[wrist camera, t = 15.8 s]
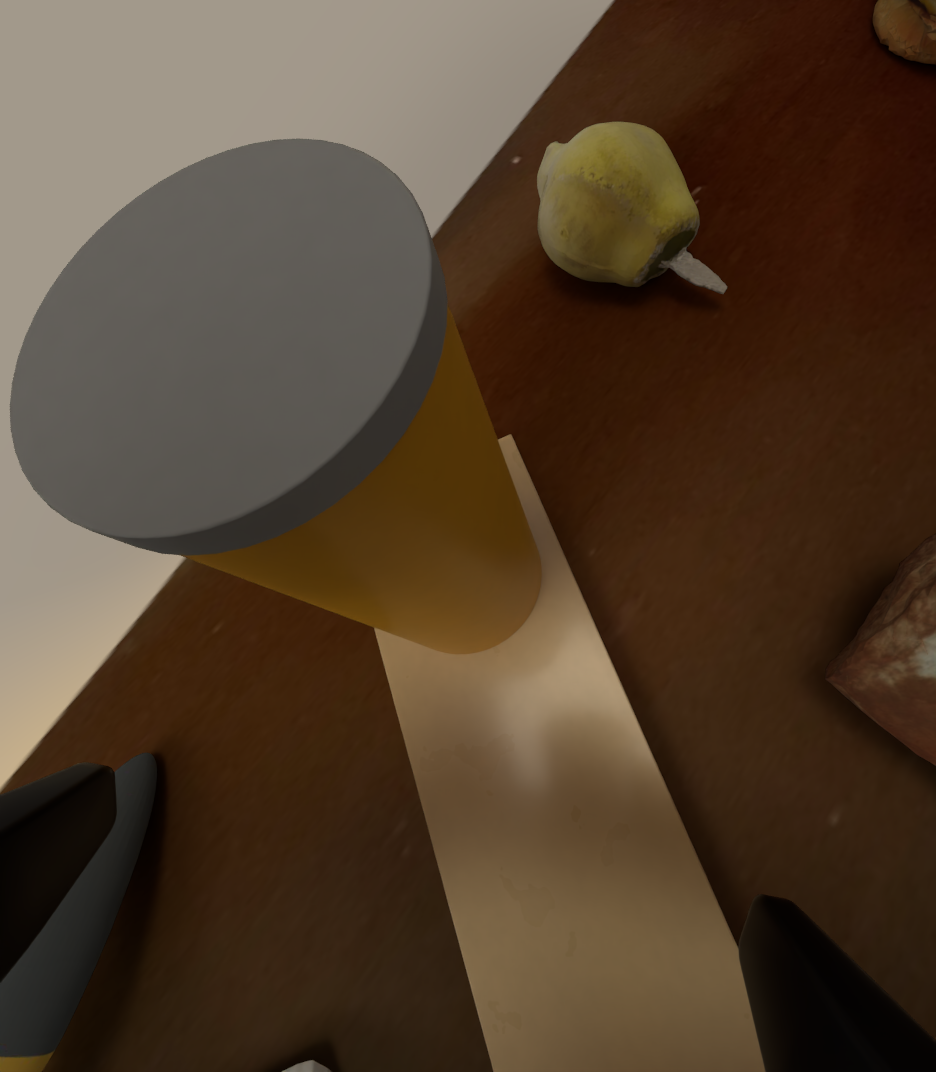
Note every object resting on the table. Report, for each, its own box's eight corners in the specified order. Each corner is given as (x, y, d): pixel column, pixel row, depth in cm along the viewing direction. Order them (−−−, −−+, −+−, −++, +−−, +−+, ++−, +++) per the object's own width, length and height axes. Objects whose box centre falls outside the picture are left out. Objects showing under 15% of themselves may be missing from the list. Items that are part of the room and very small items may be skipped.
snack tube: (576, 546, 20) (531, 194, 6) (485, 692, 19) (204, 644, 6) (443, 474, 23) (204, 104, 9) (356, 600, 22) (-63, 408, 8)
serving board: (953, 1441, 12) (977, 1488, 11) (621, 1508, 13) (622, 1555, 12) (513, 442, 23) (511, 433, 23) (348, 513, 24) (341, 507, 23)
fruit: (678, 360, 23) (494, 261, 25) (732, 291, 25) (560, 207, 27) (750, 231, 18) (511, 122, 20) (810, 160, 20) (590, 69, 22)
